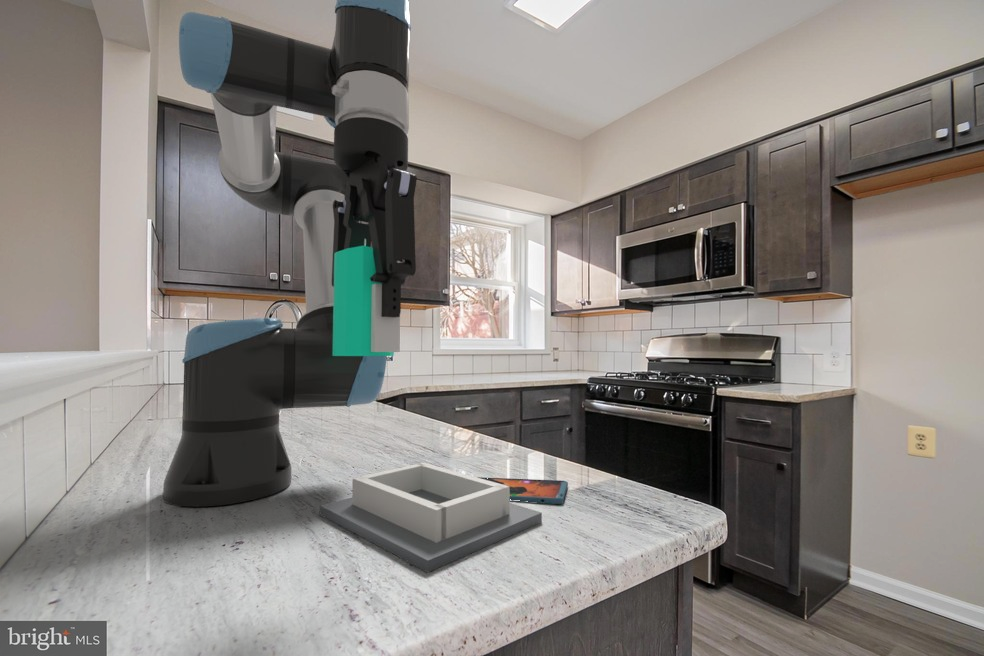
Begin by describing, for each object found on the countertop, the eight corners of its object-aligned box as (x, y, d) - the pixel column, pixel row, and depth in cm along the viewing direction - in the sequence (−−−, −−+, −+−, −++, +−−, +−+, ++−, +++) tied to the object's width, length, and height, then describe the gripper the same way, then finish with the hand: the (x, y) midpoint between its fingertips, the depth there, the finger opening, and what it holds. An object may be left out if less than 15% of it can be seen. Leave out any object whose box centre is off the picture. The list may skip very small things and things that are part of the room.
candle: (394, 355, 44) (395, 233, 45) (328, 356, 43) (330, 229, 43) (393, 355, 50) (394, 246, 50) (335, 355, 49) (337, 244, 49)
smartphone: (466, 476, 68) (568, 480, 64) (466, 485, 68) (568, 490, 64) (447, 490, 60) (562, 496, 56) (447, 501, 60) (562, 507, 56)
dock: (320, 514, 53) (320, 479, 53) (428, 484, 64) (429, 456, 65) (427, 572, 39) (428, 524, 39) (541, 521, 51) (541, 485, 51)
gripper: (302, 150, 52) (297, 351, 51) (385, 77, 38) (382, 352, 37) (362, 167, 57) (360, 351, 56) (456, 109, 43) (454, 352, 42)
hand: (368, 351), depth 47 cm, fingers closed on candle, 6 cm apart
